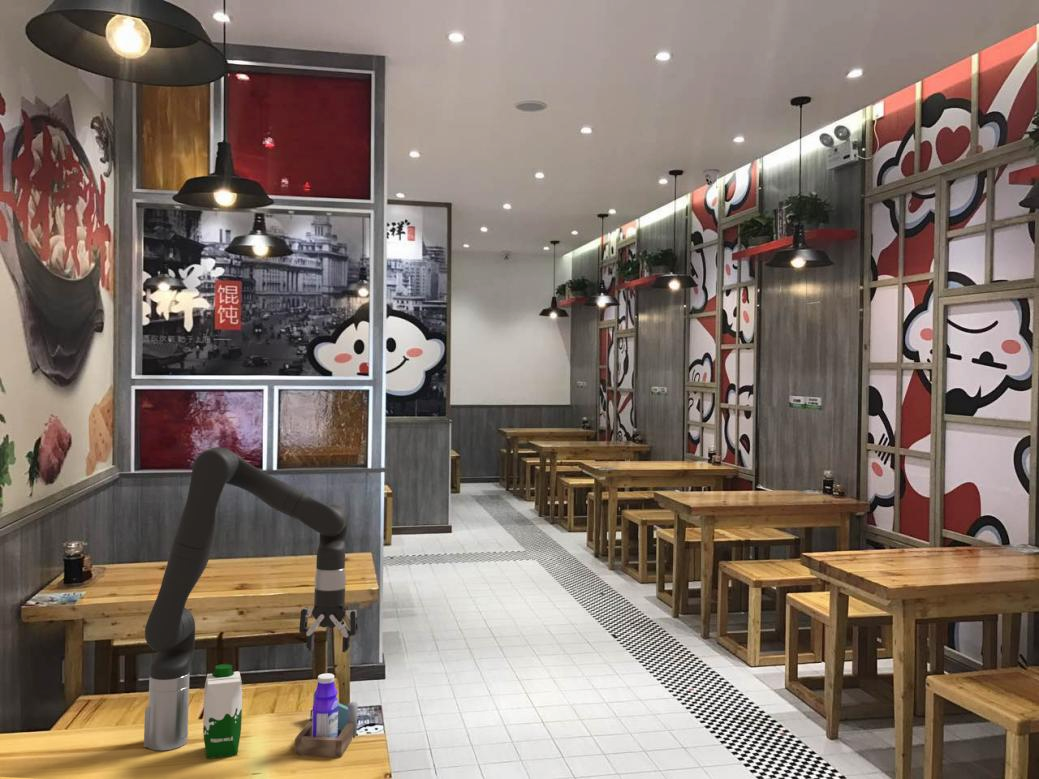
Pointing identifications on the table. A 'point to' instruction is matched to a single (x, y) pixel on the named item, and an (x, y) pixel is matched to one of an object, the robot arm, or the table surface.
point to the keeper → (347, 716)
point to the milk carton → (222, 712)
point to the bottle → (325, 708)
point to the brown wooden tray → (322, 742)
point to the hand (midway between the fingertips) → (328, 650)
